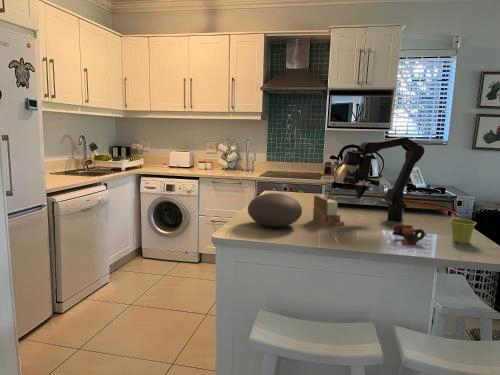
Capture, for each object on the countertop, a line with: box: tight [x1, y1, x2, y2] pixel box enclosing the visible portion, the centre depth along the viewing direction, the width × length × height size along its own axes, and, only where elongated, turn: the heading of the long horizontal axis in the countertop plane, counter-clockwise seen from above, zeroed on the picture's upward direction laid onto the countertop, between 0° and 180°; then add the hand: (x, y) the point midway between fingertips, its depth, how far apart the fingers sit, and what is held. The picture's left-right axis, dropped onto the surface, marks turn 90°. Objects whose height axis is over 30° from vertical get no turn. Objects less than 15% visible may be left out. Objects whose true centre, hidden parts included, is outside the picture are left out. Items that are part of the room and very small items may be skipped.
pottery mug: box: [392, 224, 426, 246], centre depth 152 cm, size 12×10×8 cm
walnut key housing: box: [312, 194, 345, 227], centre depth 181 cm, size 11×12×12 cm
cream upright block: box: [326, 198, 338, 221], centre depth 181 cm, size 5×7×9 cm
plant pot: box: [450, 218, 477, 245], centre depth 154 cm, size 9×9×9 cm
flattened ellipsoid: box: [247, 192, 303, 228], centre depth 173 cm, size 25×25×15 cm
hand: (358, 198), depth 186 cm, fingers closed
